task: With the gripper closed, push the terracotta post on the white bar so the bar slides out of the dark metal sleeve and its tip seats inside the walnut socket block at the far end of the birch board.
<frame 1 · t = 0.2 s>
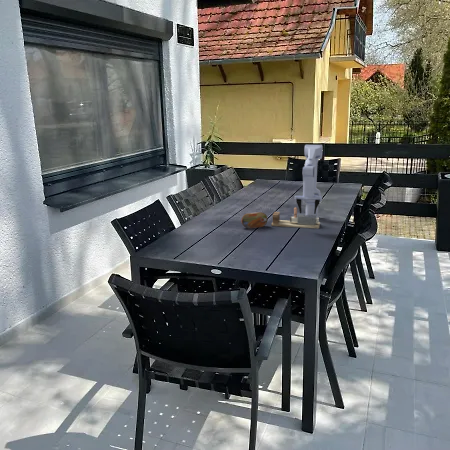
hand: (307, 213, 250), 10 cm above the table, tool pointing down, fingers open, 7 cm apart
tin: (254, 227, 262), on the table
sleeve: (306, 225, 263), resting on base board
socket block: (276, 223, 267), resting on base board
white bar: (304, 214, 262), point 6 cm above the table, slide at 0.0 cm
base board: (295, 224, 264), on the table
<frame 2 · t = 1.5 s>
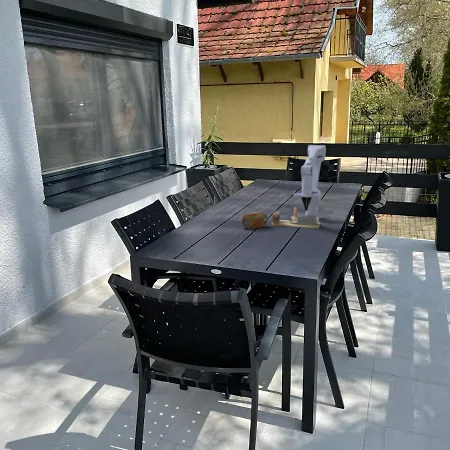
hand: (306, 210, 261), 9 cm above the table, tool pointing down, fingers closed
nothing on the table moved.
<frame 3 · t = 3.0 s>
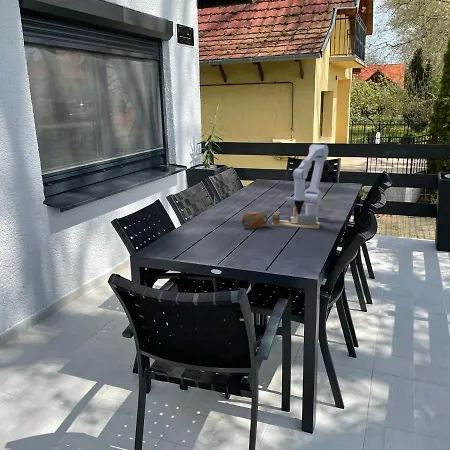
hand: (299, 213, 262), 7 cm above the table, tool pointing down, fingers closed
white bar: (303, 214, 262), point 6 cm above the table, slide at 0.4 cm, touching gripper
everything else where it was.
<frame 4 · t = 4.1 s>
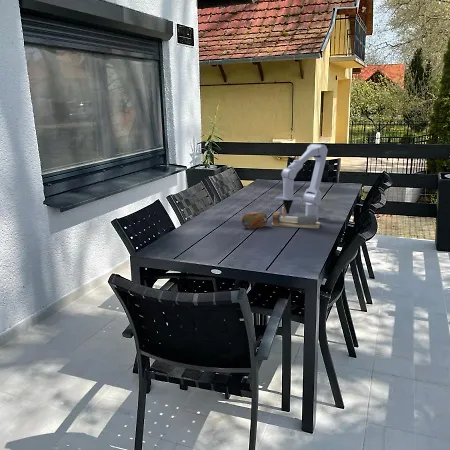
hand: (287, 213, 264), 7 cm above the table, tool pointing down, fingers closed
white bar: (292, 214, 263), point 6 cm above the table, slide at 6.8 cm, touching gripper
everything else where it was.
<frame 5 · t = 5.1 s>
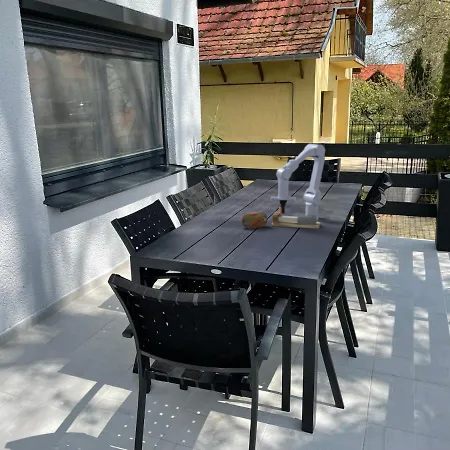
hand: (283, 213, 264), 7 cm above the table, tool pointing down, fingers closed, pressing on white bar
white bar: (289, 214, 264), point 6 cm above the table, slide at 8.5 cm, touching gripper, socket block
everything else where it was.
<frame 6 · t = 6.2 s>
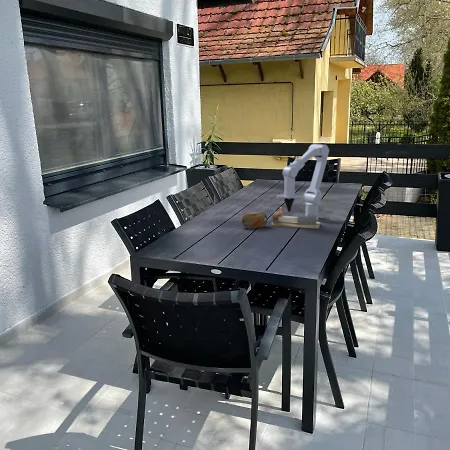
hand: (289, 211, 264), 8 cm above the table, tool pointing down, fingers closed
white bar: (290, 214, 264), point 6 cm above the table, slide at 8.0 cm
everything else where it was.
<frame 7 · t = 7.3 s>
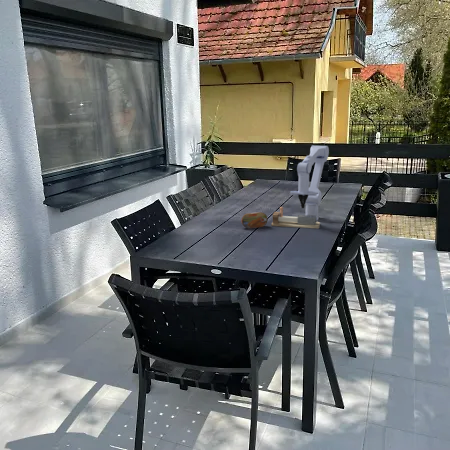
hand: (302, 207, 262), 10 cm above the table, tool pointing down, fingers closed
nothing on the table moved.
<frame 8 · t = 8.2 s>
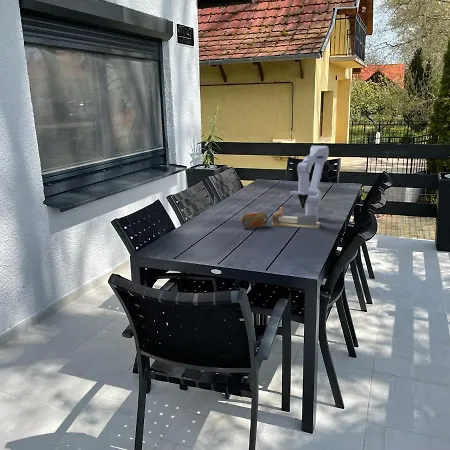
hand: (302, 207, 262), 10 cm above the table, tool pointing down, fingers closed
nothing on the table moved.
at the end: white bar slide at 8.0 cm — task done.
